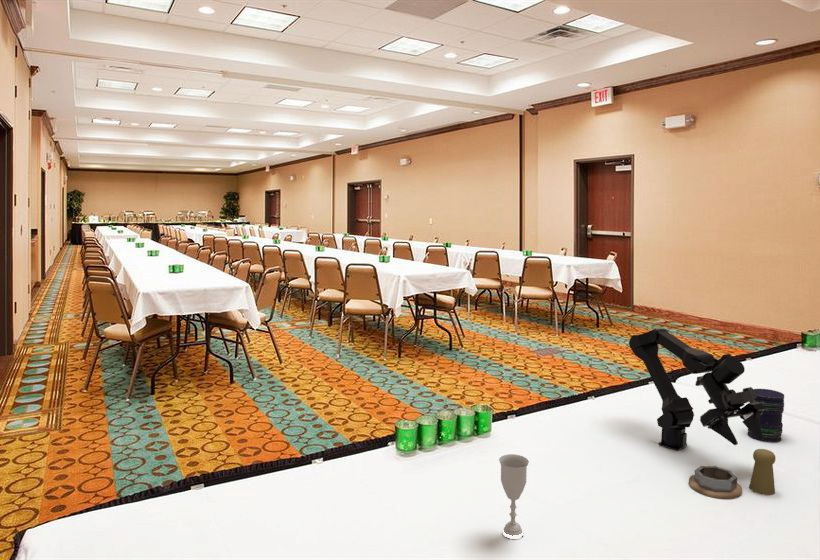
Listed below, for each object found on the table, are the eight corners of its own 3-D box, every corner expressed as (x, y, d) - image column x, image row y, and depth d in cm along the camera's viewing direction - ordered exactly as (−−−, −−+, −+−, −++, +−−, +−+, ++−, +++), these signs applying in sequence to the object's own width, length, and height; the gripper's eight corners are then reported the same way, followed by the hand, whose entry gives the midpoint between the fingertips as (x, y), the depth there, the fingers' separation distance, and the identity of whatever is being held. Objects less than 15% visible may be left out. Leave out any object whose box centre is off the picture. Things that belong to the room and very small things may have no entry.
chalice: (495, 526, 144) (495, 454, 142) (522, 524, 145) (523, 453, 143) (502, 543, 137) (503, 468, 135) (531, 541, 138) (532, 466, 135)
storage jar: (782, 435, 200) (785, 391, 198) (781, 445, 191) (784, 399, 190) (747, 429, 205) (750, 386, 203) (746, 438, 197) (748, 394, 195)
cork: (778, 496, 158) (781, 456, 157) (753, 494, 159) (756, 454, 158) (769, 485, 164) (772, 447, 163) (745, 483, 165) (748, 445, 164)
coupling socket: (680, 486, 164) (680, 472, 163) (700, 472, 172) (701, 459, 172) (730, 504, 154) (731, 489, 154) (749, 488, 163) (750, 474, 162)
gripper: (710, 381, 165) (742, 434, 156) (761, 374, 171) (794, 424, 162) (686, 400, 173) (716, 451, 164) (736, 393, 179) (766, 442, 170)
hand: (749, 442), depth 165 cm, fingers open, 9 cm apart
